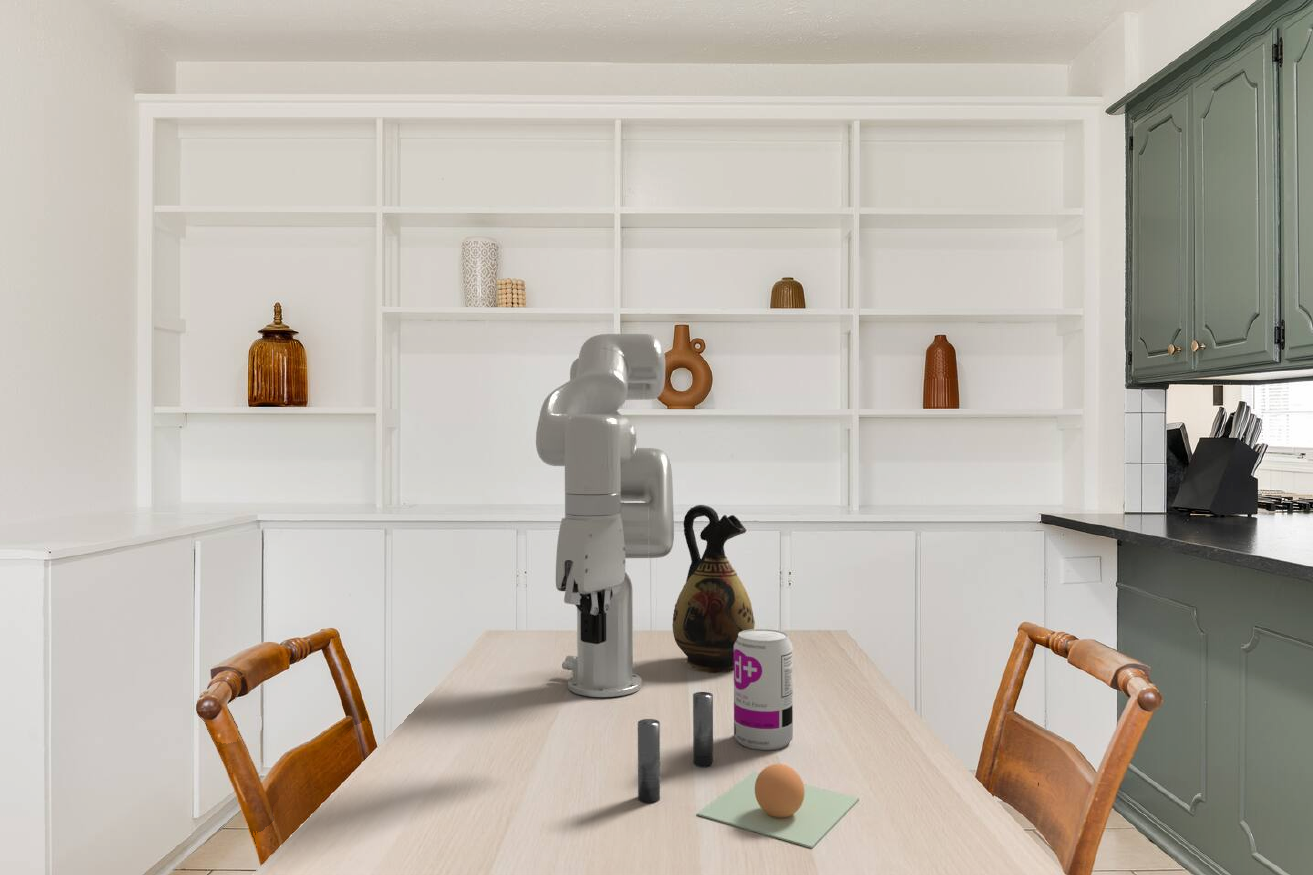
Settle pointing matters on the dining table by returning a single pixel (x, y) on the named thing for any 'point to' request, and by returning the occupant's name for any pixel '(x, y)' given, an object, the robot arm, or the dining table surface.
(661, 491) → the robot arm
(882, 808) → the dining table surface
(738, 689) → the supplement can
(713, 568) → the ceramic jug
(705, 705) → the post
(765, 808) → the ball
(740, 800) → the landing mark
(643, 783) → the post
